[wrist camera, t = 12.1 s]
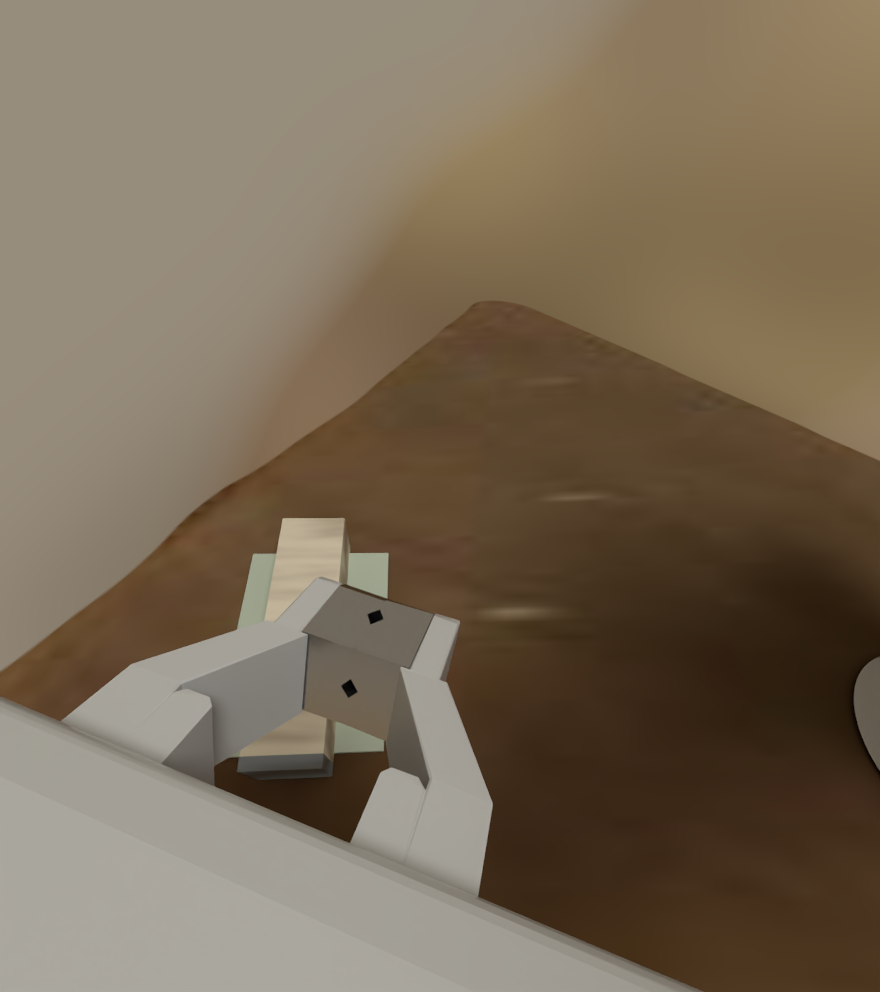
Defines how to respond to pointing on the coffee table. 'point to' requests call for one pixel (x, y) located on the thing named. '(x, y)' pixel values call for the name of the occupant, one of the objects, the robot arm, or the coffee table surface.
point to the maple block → (298, 563)
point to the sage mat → (362, 574)
